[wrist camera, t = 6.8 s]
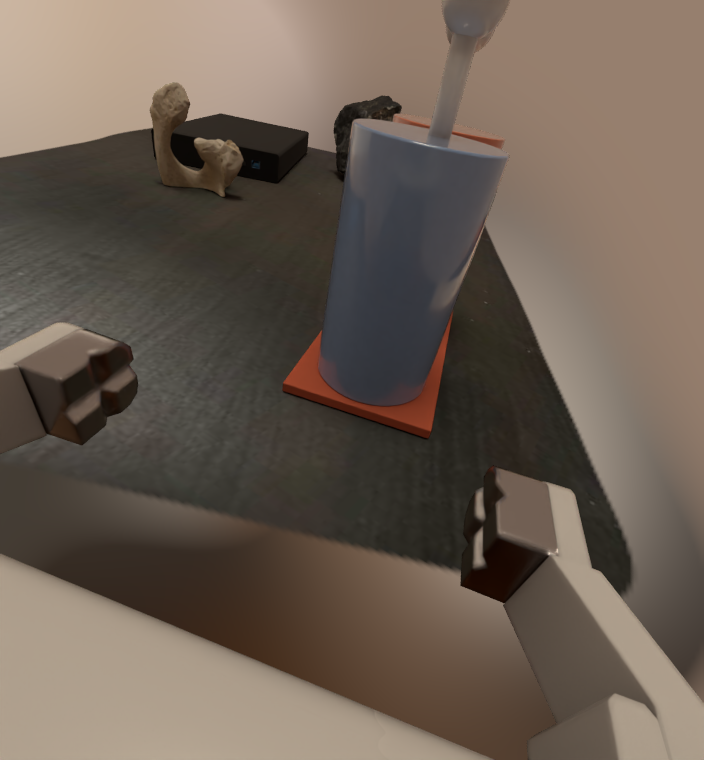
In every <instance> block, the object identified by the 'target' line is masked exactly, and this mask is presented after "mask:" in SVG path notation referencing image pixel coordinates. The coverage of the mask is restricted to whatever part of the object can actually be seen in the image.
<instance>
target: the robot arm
mask: <svg viewBox="0 0 704 760" xmlns="http://www.w3.org/2000/svg"><path fill="white" fill-rule="evenodd" d="M132 361H133V355H132V351H131V347H130V346H128V345H127V344H125V343H124V342H121V341H118V340H115V339H113V338H110V337H107V336H104V335H101V334H99V333H96V332H93V331H90V330H88V329H83V328H80V327H78V326H75V325H72V324H70V323H67V322H65V323H55V324H53V325H51V326H49V327H47V328H45V329H43V330H41V331H39V332H37V333H35V334H33V335H31V336H29V337H27V338H25V339H23V340H21V341H19V342H17V343H15V344H13V345H11V346H9V347H7V348H5V349H3V350H1V351H0V454H2V453H4V452H7V451H9V450H12V449H14V448H17V447H19V446H22V445H24V444H27V443H29V442H32V441H34V440H37V439H40V438H42V437H45V436H46V435H47V434H50V435H53V436H55V437H58V438H61V439H64V440H67V441H70V442H73V443H76V444H79V445H83V444H84V443H86V442H87V441H88V440H89V439H90V438H91V437H93V436H94V435H95V434H96V433H97V432H99V431H100V430H101V429H102V428H103V427H105V426H106V422H107V417H109V416H112V415H115V414H118V413H121V412H122V411H123V410H125V409H126V408H127V407H128V406H129V405H130V404H131V402H132V401H133V399H134V397H135V395H136V394H137V388H138V380H137V375H136V373H135V372H134V371H133V369H132V368H131V367H130V365H129V364H130V363H131V362H132ZM46 433H47V434H46ZM463 535H464V536H465V538H466V540H467V542H468V546H467V547H466V549H465V550H464V552H463V553H462V565H461V586H462V587H465V588H468V589H470V590H472V591H475V592H477V593H480V594H482V595H485V596H488V597H490V598H493V599H495V600H497V601H500V602H502V603H505V604H504V605H503V606H504V608H505V610H506V612H507V615H508V617H509V619H510V621H511V624H512V626H513V627H514V630H515V632H516V635H517V637H518V639H519V641H520V643H521V646H522V648H523V650H524V652H525V654H526V657H527V659H528V661H529V663H530V665H531V667H532V670H533V672H534V674H535V676H536V678H537V681H538V683H539V685H540V687H541V690H542V692H543V694H544V696H545V698H546V701H547V703H548V705H549V707H550V710H551V712H552V714H553V716H554V718H555V721H556V723H557V724H555V725H553V726H551V727H549V728H547V729H545V730H543V731H541V732H539V733H538V734H536V735H534V736H533V737H531V738H530V739H529V740H528V741H527V752H528V760H704V703H703V702H702V701H701V699H700V698H699V697H698V695H697V694H696V693H695V692H694V691H693V689H692V688H691V687H690V685H689V684H688V683H687V681H686V680H685V679H684V678H683V677H682V675H681V674H680V673H679V671H678V670H677V669H676V667H675V666H674V665H673V664H672V662H671V661H670V660H669V658H668V657H667V656H666V655H665V653H664V652H663V651H662V649H661V648H660V647H659V646H658V645H657V643H656V642H655V641H654V639H653V638H652V637H651V635H650V634H649V633H648V632H647V630H646V629H645V628H644V626H643V625H642V624H641V623H640V621H639V620H638V619H637V618H636V616H635V615H634V614H633V612H632V611H631V610H630V609H629V608H628V606H627V605H626V603H625V602H624V601H623V600H622V598H621V597H620V596H619V595H618V593H617V592H616V591H615V589H614V588H613V587H612V586H611V584H610V583H609V582H608V580H607V579H606V578H605V577H604V575H603V574H602V573H601V572H600V571H598V570H595V569H592V567H591V562H590V558H589V554H588V549H587V545H586V541H585V537H584V532H583V528H582V524H581V519H580V515H579V511H578V507H577V502H576V498H575V494H574V493H573V492H572V491H571V490H570V489H567V488H564V487H561V486H557V485H554V484H551V483H548V482H543V481H541V480H538V479H535V478H531V477H528V476H525V475H522V474H519V473H516V472H513V471H510V470H507V469H504V468H501V467H497V466H494V465H493V466H492V467H490V468H489V469H488V471H487V472H486V474H485V476H484V485H483V488H481V489H479V490H476V491H475V492H474V494H473V496H472V498H471V500H470V502H469V505H468V508H467V511H466V514H465V520H464V530H463ZM0 760H494V759H492V758H489V757H487V756H485V755H482V754H480V753H477V752H475V751H472V750H470V749H468V748H465V747H463V746H461V745H458V744H456V743H453V742H451V741H449V740H446V739H444V738H441V737H439V736H436V735H434V734H432V733H429V732H427V731H424V730H422V729H420V728H417V727H415V726H413V725H410V724H408V723H405V722H403V721H401V720H398V719H396V718H393V717H391V716H389V715H386V714H384V713H381V712H379V711H377V710H374V709H372V708H369V707H367V706H365V705H362V704H360V703H357V702H355V701H353V700H350V699H348V698H345V697H343V696H341V695H338V694H336V693H333V692H331V691H328V690H326V689H324V688H321V687H319V686H317V685H314V684H312V683H310V682H307V681H305V680H302V679H300V678H297V677H295V676H293V675H290V674H288V673H285V672H283V671H281V670H278V669H276V668H274V667H271V666H269V665H266V664H264V663H261V662H259V661H257V660H254V659H252V658H250V657H247V656H245V655H242V654H240V653H237V652H235V651H233V650H230V649H228V648H226V647H223V646H221V645H218V644H216V643H214V642H211V641H209V640H206V639H204V638H202V637H199V636H197V635H194V634H192V633H190V632H187V631H185V630H182V629H180V628H177V627H175V626H173V625H170V624H168V623H166V622H163V621H160V620H158V619H156V618H153V617H151V616H149V615H146V614H144V613H142V612H139V611H137V610H134V609H132V608H130V607H127V606H125V605H122V604H120V603H118V602H115V601H113V600H110V599H108V598H105V597H103V596H101V595H98V594H96V593H93V592H91V591H89V590H86V589H84V588H81V587H79V586H77V585H74V584H72V583H70V582H67V581H65V580H62V579H60V578H57V577H55V576H53V575H51V574H48V573H46V572H43V571H41V570H39V569H36V568H34V567H31V566H28V565H27V564H24V563H21V562H19V561H17V560H15V559H12V558H10V557H7V556H5V555H3V554H0Z"/></svg>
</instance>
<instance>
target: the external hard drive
mask: <svg viewBox="0 0 704 760" xmlns="http://www.w3.org/2000/svg"><path fill="white" fill-rule="evenodd" d="M151 133H152V142H153V150H154V157H155V158H156V152H155V142H154V130H153V129H152V130H151ZM308 134H309V133H308V132H306V131H301V130H297V129H292V128H287V127H282V126H277V125H273V124H267V123H263V122H258V121H254V120H249V119H244V118H239V117H234V116H230V115H225V114H217V115H212V116H208V117H203V118H199V119H194V120H191V121H186V122H184V123H182V124H181V125H179V126H178V127H176V128H175V130H174V131H173V133H172V135H171V141H170V147H171V150H172V153H173V155H174V156H175V158H176V159H177V161H178V162H179V163H180V164H183V165H188V166H193V167H198V168H203V167H204V163H205V161H204V160H202V159H201V157H200V155H199V154H198V151H197V149H196V148H195V145H194V140H195V139H196V138H203V139H206V140H217V139H220V140H222V141H224V142H226V141H227V140H231V141H232V142H233V143H234V144H236V146H237V147H238V148H239V151H240V152H241V155H242V157H243V159H244V161H243V163H242V166H241V169H240V171H239V172H238V174H237V175H238V176H243V177H248V178H253V179H258V180H263V181H268V182H273V183H277V182H278V181H279V180H280V179H281V178H282V177H283V176H284V175H285V174H286V173H287V172H288V171H289V170H290V169H291V168H292V167H293V166H294V165H295V164H296V163H297V162H298V161H299V160H300V158H301V157H302V156H303V155H304V154H305V153H306V152H307V146H308ZM156 159H157V158H156Z"/></svg>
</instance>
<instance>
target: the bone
mask: <svg viewBox="0 0 704 760" xmlns="http://www.w3.org/2000/svg"><path fill="white" fill-rule="evenodd" d="M189 106H190V102H189V99H188V97H187V94H186V92H185V89H184V88H183V87H182V85H180V84H179V83H170V84H167V85H165V86H164V87H162V88H161V89H159V90H157V91H156V92H155V93H154V96H153V103H152V105H151V108H150V113H151V117H152V121H153V130H154V142H155V152H156V158H157V163H158V168H159V171H160V174H161V178H162V181H163V184H164V185H168V186H177V187H194V188H205V189H209V190H212V191H214V192H216V193H218V194H219V195H220V196H222V197H225V192H224V190H225V188H226V187H227V186H230V184H231V183H232V181H233V179H234V178H235V177H236V176H237V174H238V172H239V171H240V169H241V166H242V163H243V161H244V159H243V157H242V155H241V152H240V151H239V148H238V147H237V146H236V144H234V143H233V142H232V141H231V140H227V141H226V142H224V141H222V140H220V139H217V140H206V139H203V138H196V139H195V140H194V145H195V148H196V149H197V151H198V154H199V155H200V157H201V159H202V160H204V161H205V163H204V167H203V168H202V169H201V170H200V171H193V170H190V169H188V168H186V167H185V166H183V165H182V164H180V163H179V162H178V161H177V159H176V158H175V156H174V155H173V153H172V150H171V147H170V141H171V135H172V133H173V131H174V130H175V128H176V127H178V126H179V125H181V124H182V123H184V122H185V120H186V118H187V114H188V109H189Z"/></svg>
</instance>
